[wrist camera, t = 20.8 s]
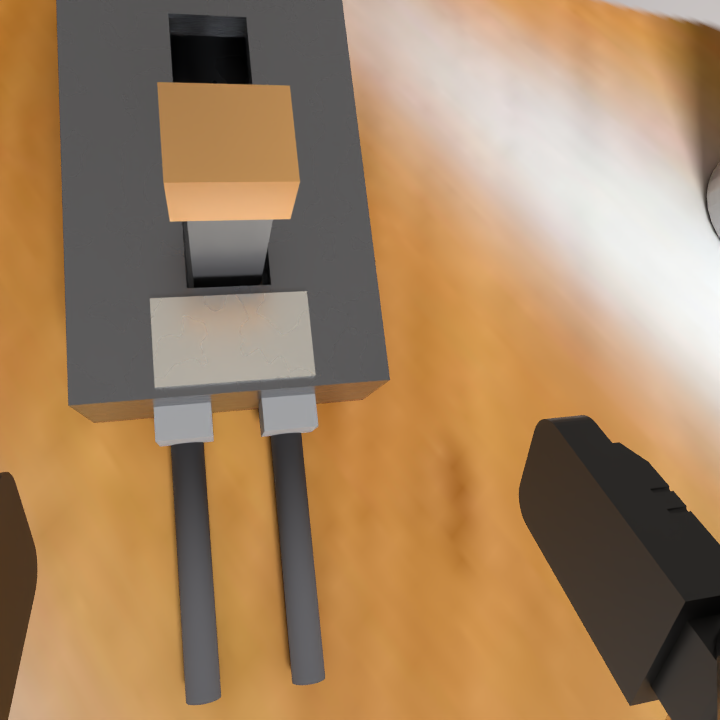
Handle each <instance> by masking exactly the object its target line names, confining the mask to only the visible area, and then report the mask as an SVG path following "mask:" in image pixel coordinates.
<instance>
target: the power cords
mask: <svg viewBox="0 0 720 720" xmlns="http://www.w3.org/2000/svg"><path fill="white" fill-rule="evenodd" d="M259 418H260V429H261V437H263V436H271V447H272V458H273V470H274V481H275V492H276V503H277V515H278V526H279V537H280V548H281V560H282V571H283V582H284V593H285V604H286V616H287V627H288V638H289V649H290V661H291V672H292V683H293V684H295V685H309V684H314V683H318V682H320V681H322V680H324V679H325V671H324V660H323V650H322V640H321V630H320V620H319V610H318V599H317V589H316V579H315V569H314V559H313V548H312V538H311V528H310V518H309V508H308V498H307V487H306V477H305V467H304V457H303V447H302V436H301V433H305V432H312V431H313V430H314V429H315V428H317V427H318V418H317V409H316V399H315V394H307V395H295V396H283V397H271V398H262V399H261V401H260V404H259ZM154 423H155V442H156V443H157V444H158V445H159V446H170V445H171V456H172V473H173V490H174V507H175V523H176V540H177V557H178V574H179V591H180V607H181V624H182V641H183V658H184V675H185V691H186V703H187V704H188V705H201V704H206V703H210V702H213V701H216V700H218V699H219V698H220V697H221V688H220V674H219V659H218V645H217V630H216V616H215V601H214V587H213V572H212V558H211V544H210V529H209V515H208V500H207V486H206V471H205V457H204V443H203V442H211V441H214V440H213V425H212V411H211V402H210V403H198V404H186V405H174V406H162V407H154Z"/></svg>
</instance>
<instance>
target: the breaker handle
mask: <svg viewBox="0 0 720 720" xmlns="http://www.w3.org/2000/svg"><path fill="white" fill-rule="evenodd" d="M157 87H158V103H159V119H160V135H161V151H162V167H163V183H164V189H165V195H166V201H167V207H168V213H169V219H170V222H175V221H187V225H188V234H189V244H190V253H191V263H192V272H193V282H194V288H208V287H232V286H255V285H260V284H261V278H262V273H263V268H264V263H265V258H266V253H267V248H268V243H269V238H270V233H271V228H272V222H273V219H291V215H292V211H293V207H294V203H295V199H296V195H297V191H298V188H299V184H300V177H299V167H298V158H297V148H296V139H295V129H294V120H293V111H292V101H291V92H290V86H286V85H248V84H210V83H172V82H157Z"/></svg>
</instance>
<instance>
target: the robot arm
mask: <svg viewBox="0 0 720 720" xmlns="http://www.w3.org/2000/svg"><path fill="white" fill-rule="evenodd" d="M707 204H708V211H709V215H710V218H711V222H712V224H713V226H714V228H715V230H716V232H717V235H718V236H719V238H720V162H719V163H718V165H717V166H716V168H715V169H714V171H713V172H712V175H711V177H710V180H709V183H708V190H707ZM519 503H520V508H521V513H522V516H523V519H524V521H525V523H526V525H527V527H528V529H529V530H530V532H531V534H532V536H533V537H534V539H535V541H536V543H537V544H538V546H539V548H540V549H541V551H542V553H543V555H544V556H545V558H546V560H547V562H548V563H549V565H550V567H551V569H552V570H553V572H554V574H555V576H556V577H557V579H558V581H559V583H560V584H561V586H562V588H563V590H564V591H565V593H566V595H567V597H568V598H569V600H570V602H571V604H572V605H573V607H574V609H575V611H576V612H577V614H578V616H579V618H580V619H581V621H582V623H583V625H584V626H585V628H586V630H587V632H588V633H589V635H590V637H591V639H592V640H593V642H594V644H595V646H596V647H597V649H598V651H599V653H600V654H601V656H602V658H603V660H604V661H605V663H606V665H607V667H608V668H609V670H610V672H611V674H612V675H613V677H614V679H615V681H616V682H617V684H618V686H619V688H620V689H621V691H622V693H623V695H624V696H625V698H626V700H627V702H628V703H629V705H630V706H632V705H636V704H641V703H645V702H650V701H655V700H660V702H661V704H662V705H663V707H664V709H665V710H666V712H667V713H668V715H667V717H666V719H665V720H720V544H719V543H718V542H717V541H716V540H715V539H714V538H713V536H712V535H711V534H710V533H709V532H708V531H707V529H706V528H705V527H704V526H703V525H702V524H701V522H700V521H699V520H698V519H697V518H696V517H695V516H694V514H693V513H692V512H691V511H690V512H688V511H687V509H686V505H685V504H684V503H683V502H682V500H681V499H680V498H679V497H678V496H677V495H676V493H675V492H674V491H670V490H669V485H668V484H667V483H666V482H665V481H664V480H663V478H662V477H661V476H660V475H659V474H658V473H657V471H656V470H655V469H654V468H653V467H652V466H651V464H650V463H649V462H648V461H646V460H645V459H643V458H642V457H640V456H639V455H637V454H636V453H634V452H633V451H631V450H630V449H628V448H627V447H625V446H624V445H622V444H621V443H612V442H611V441H610V440H609V439H608V437H607V436H606V435H605V434H604V432H603V431H602V430H601V429H600V428H599V426H598V425H597V424H596V423H595V422H594V421H593V420H592V419H591V418H590V417H588V416H585V415H580V416H571V417H561V418H551V419H543V420H541V421H539V423H538V424H537V426H536V428H535V431H534V434H533V438H532V442H531V445H530V449H529V453H528V457H527V460H526V464H525V468H524V471H523V475H522V479H521V483H520V487H519ZM36 583H37V556H36V549H35V545H34V541H33V538H32V535H31V531H30V528H29V525H28V522H27V519H26V515H25V512H24V509H23V506H22V503H21V499H20V496H19V493H18V490H17V486H16V483H15V481H14V478H13V476H12V475H11V474H10V473H9V472H2V473H0V720H8V717H9V712H10V707H11V703H12V698H13V693H14V689H15V684H16V679H17V675H18V670H19V665H20V661H21V656H22V651H23V647H24V642H25V637H26V632H27V628H28V623H29V618H30V614H31V609H32V604H33V600H34V595H35V590H36Z"/></svg>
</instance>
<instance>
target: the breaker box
mask: <svg viewBox="0 0 720 720" xmlns="http://www.w3.org/2000/svg"><path fill="white" fill-rule="evenodd" d="M56 4H57V37H58V71H59V104H60V138H61V171H62V205H63V238H64V271H65V305H66V338H67V372H68V405H69V406H70V407H71V408H73V409H74V410H76V411H77V412H79V413H80V414H82V415H83V416H85V417H86V418H88V419H89V420H91V421H92V422H94V423H98V422H110V421H121V420H133V419H144V418H154V407H162V406H174V405H186V404H198V403H210V402H211V411H212V413H214V412H226V411H237V410H249V409H259V404H260V401H261V399H262V398H271V397H283V396H295V395H307V394H315V399H316V404H318V403H330V402H342V401H353V400H363V399H364V398H366V397H367V396H368V395H370V394H371V393H372V392H374V391H375V390H377V389H378V388H379V387H381V386H382V385H384V384H385V383H386V382H388V381H389V380H390V377H389V369H388V361H387V353H386V345H385V337H384V329H383V321H382V313H381V306H380V298H379V290H378V282H377V274H376V266H375V258H374V250H373V242H372V234H371V226H370V218H369V211H368V203H367V195H366V187H365V179H364V171H363V163H362V155H361V147H360V139H359V131H358V123H357V116H356V108H355V100H354V92H353V84H352V76H351V68H350V60H349V52H348V44H347V36H346V28H345V21H344V13H343V5H342V0H56ZM157 82H172V83H210V84H248V85H286V86H290V92H291V101H292V111H293V120H294V129H295V139H296V148H297V158H298V167H299V177H300V184H299V188H298V191H297V195H296V199H295V203H294V207H293V211H292V215H291V219H273V222H272V228H271V233H270V238H269V243H268V248H267V253H266V258H265V263H264V268H263V273H262V278H261V284H260V285H255V286H232V287H208V288H194V282H193V272H192V263H191V253H190V244H189V234H188V225H187V221H175V222H170V219H169V213H168V207H167V201H166V195H165V189H164V183H163V167H162V151H161V135H160V119H159V103H158V87H157Z"/></svg>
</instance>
